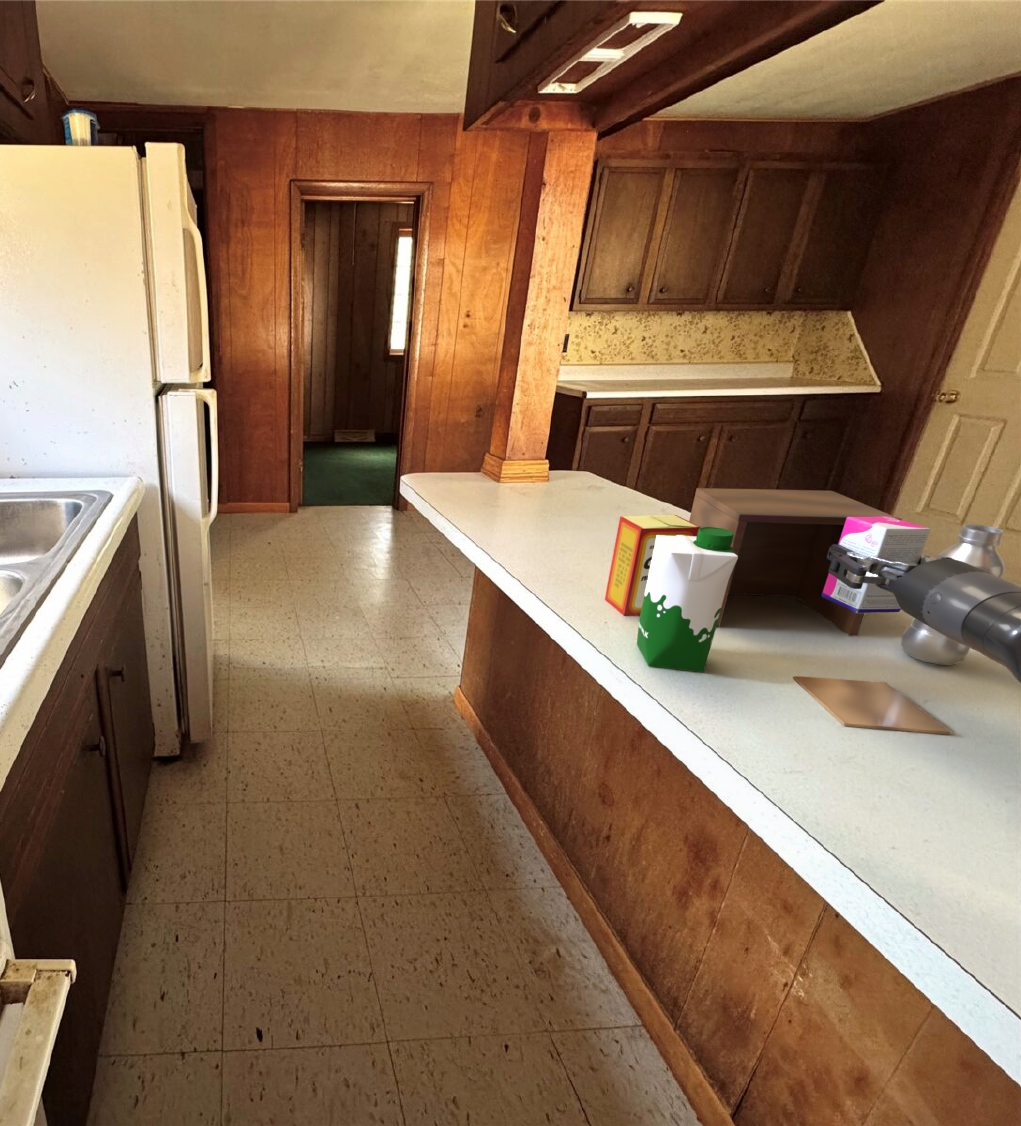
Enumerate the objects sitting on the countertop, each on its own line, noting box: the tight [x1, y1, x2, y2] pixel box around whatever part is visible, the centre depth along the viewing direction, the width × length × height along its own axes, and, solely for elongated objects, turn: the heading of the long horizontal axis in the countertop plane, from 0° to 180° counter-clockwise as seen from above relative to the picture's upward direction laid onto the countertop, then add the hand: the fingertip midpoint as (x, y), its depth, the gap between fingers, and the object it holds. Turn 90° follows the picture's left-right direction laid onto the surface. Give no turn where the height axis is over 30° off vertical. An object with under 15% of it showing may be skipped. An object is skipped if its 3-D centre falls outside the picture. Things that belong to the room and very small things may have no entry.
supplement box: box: [822, 517, 932, 614], centre depth 80 cm, size 6×6×12 cm
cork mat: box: [792, 675, 952, 736], centre depth 80 cm, size 11×11×1 cm
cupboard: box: [688, 487, 903, 637], centre depth 102 cm, size 16×21×19 cm
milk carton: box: [636, 527, 738, 673], centre depth 88 cm, size 9×9×20 cm
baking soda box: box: [604, 514, 701, 617], centre depth 105 cm, size 10×6×16 cm
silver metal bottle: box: [900, 523, 1006, 666], centre depth 86 cm, size 6×7×20 cm
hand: (863, 552), depth 82 cm, fingers closed on supplement box, 6 cm apart
